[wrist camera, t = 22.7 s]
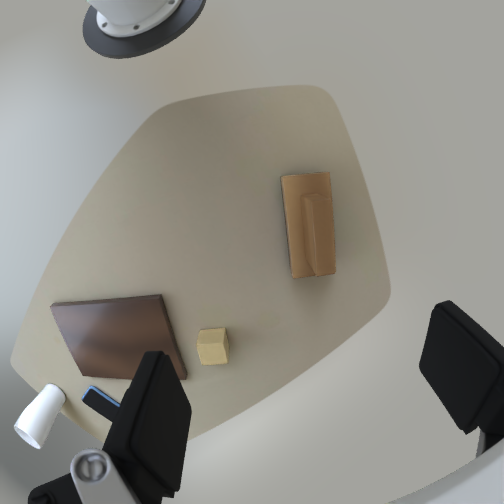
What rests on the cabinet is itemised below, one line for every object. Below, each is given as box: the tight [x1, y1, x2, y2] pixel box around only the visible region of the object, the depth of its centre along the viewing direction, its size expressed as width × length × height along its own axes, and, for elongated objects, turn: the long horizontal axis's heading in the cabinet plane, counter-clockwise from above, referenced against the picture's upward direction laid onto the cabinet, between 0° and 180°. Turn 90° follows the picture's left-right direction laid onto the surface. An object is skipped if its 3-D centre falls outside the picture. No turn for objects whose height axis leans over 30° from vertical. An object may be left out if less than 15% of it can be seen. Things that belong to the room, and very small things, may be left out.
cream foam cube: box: [196, 328, 229, 365], centre depth 35 cm, size 4×4×4 cm
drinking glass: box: [14, 383, 66, 449], centre depth 34 cm, size 7×7×15 cm
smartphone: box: [82, 386, 120, 422], centre depth 41 cm, size 7×1×15 cm
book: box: [50, 295, 187, 380], centre depth 36 cm, size 14×20×1 cm
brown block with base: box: [280, 172, 336, 279], centre depth 28 cm, size 5×11×8 cm, turn 8°
